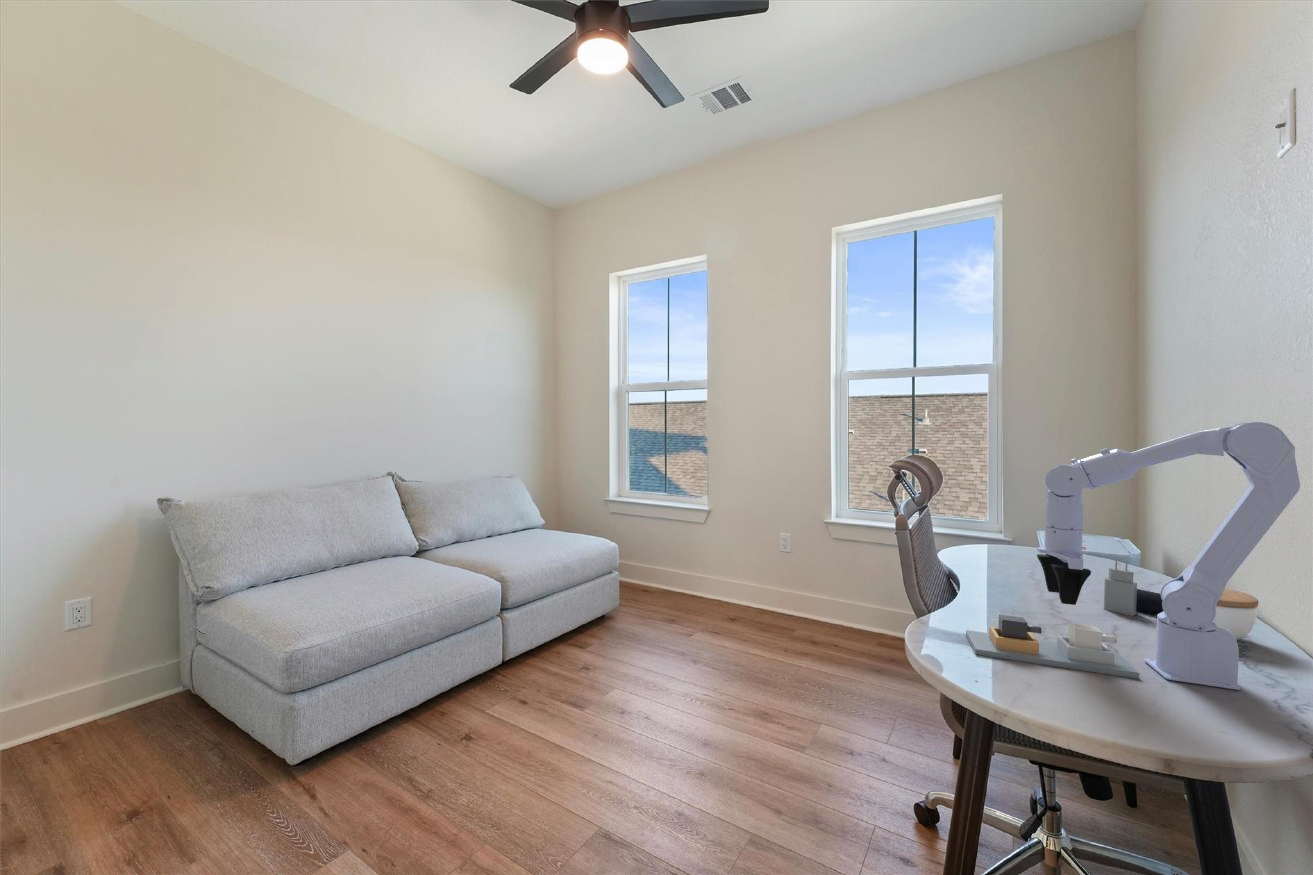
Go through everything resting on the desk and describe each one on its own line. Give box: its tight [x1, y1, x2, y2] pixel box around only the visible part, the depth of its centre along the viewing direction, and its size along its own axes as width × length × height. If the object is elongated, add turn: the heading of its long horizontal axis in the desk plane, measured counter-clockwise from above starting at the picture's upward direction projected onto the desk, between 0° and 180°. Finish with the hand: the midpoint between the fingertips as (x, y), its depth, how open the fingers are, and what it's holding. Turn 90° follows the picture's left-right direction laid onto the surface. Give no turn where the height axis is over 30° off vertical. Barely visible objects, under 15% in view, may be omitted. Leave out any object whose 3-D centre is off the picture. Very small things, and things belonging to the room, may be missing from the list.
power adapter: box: [1103, 558, 1138, 617], centre depth 124 cm, size 3×5×12 cm, turn 35°
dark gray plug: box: [997, 614, 1042, 640], centre depth 100 cm, size 6×3×5 cm, turn 68°
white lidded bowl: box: [1212, 588, 1259, 641], centre depth 109 cm, size 13×13×11 cm
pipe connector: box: [1136, 588, 1164, 616], centre depth 122 cm, size 12×5×15 cm
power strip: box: [965, 622, 1140, 680], centre depth 99 cm, size 24×10×6 cm, turn 69°
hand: (1061, 597), depth 103 cm, fingers open, 7 cm apart
